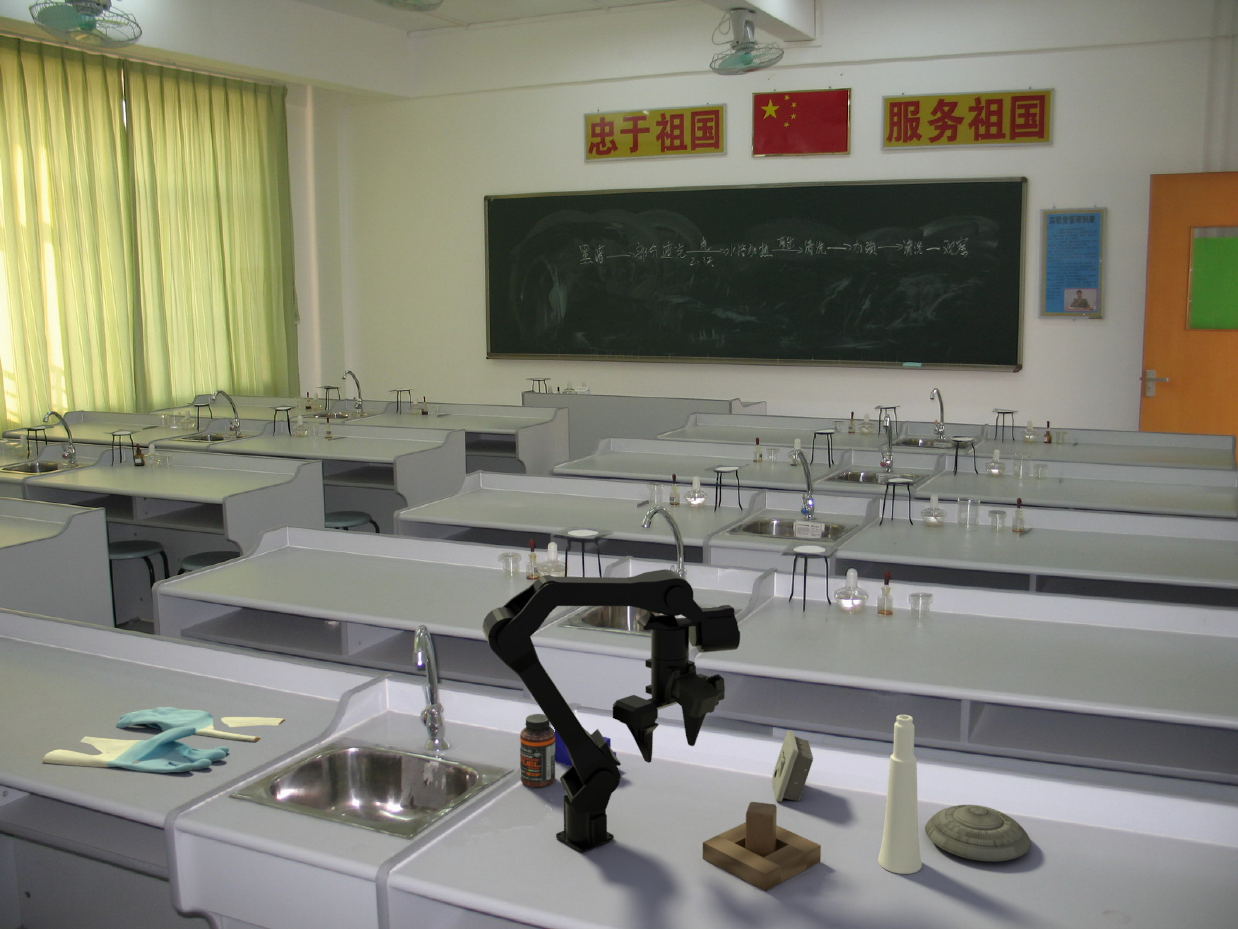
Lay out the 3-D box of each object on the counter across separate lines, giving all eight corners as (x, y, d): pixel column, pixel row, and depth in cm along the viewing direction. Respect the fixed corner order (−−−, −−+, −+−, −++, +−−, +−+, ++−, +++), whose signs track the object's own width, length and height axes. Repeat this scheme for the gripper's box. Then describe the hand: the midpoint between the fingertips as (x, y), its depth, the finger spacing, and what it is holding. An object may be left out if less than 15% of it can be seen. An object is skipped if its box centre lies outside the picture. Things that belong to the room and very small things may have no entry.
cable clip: (616, 768, 186) (616, 736, 185) (599, 777, 183) (599, 744, 182) (565, 751, 194) (564, 720, 193) (548, 759, 190) (547, 727, 189)
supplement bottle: (514, 786, 179) (513, 721, 178) (529, 772, 185) (528, 709, 183) (546, 791, 177) (545, 726, 175) (561, 776, 183) (560, 713, 181)
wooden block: (772, 869, 152) (773, 816, 151) (744, 865, 153) (745, 812, 152) (776, 855, 155) (777, 803, 154) (748, 851, 156) (749, 800, 155)
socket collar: (702, 858, 155) (702, 842, 154) (757, 832, 162) (757, 816, 162) (765, 891, 146) (765, 874, 145) (820, 861, 153) (820, 845, 153)
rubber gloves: (140, 710, 216) (137, 680, 215) (286, 722, 210) (285, 691, 209) (41, 766, 190) (38, 731, 189) (206, 781, 183) (204, 745, 182)
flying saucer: (913, 820, 167) (914, 787, 166) (1009, 821, 166) (1011, 787, 166) (940, 869, 152) (942, 833, 151) (1046, 870, 151) (1048, 834, 151)
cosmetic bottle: (896, 878, 149) (901, 728, 146) (869, 858, 154) (873, 713, 151) (930, 869, 151) (936, 721, 148) (903, 850, 157) (908, 707, 154)
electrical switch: (771, 779, 181) (777, 727, 180) (802, 782, 181) (808, 731, 180) (775, 804, 172) (782, 749, 171) (807, 808, 172) (814, 753, 170)
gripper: (662, 682, 148) (662, 788, 150) (751, 654, 160) (750, 752, 162) (609, 663, 156) (610, 764, 159) (698, 638, 169) (698, 732, 171)
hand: (669, 753), depth 162 cm, fingers open, 9 cm apart
